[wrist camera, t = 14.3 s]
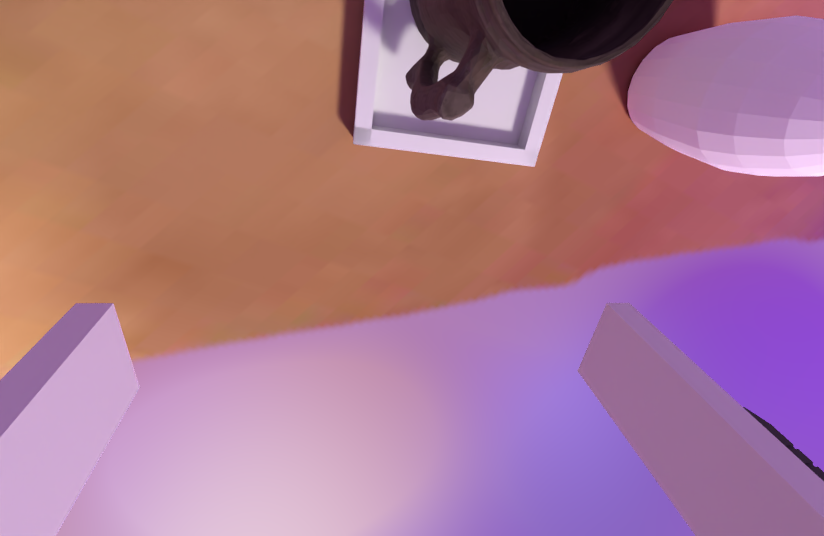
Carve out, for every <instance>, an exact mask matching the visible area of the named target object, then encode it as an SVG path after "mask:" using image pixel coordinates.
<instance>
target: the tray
mask: <svg viewBox="0 0 824 536" xmlns="http://www.w3.org/2000/svg"><path fill="white" fill-rule="evenodd" d="M428 46H429V45H428V43H427V42H426V41H425V40H424V38H423V37H422V35H421V34H420V32H419V31H418V28H417V26H416V23H415V21H414V18H413V16H412V12H411V7H410V1H409V0H364V7H363V19H362V32H361V44H360V57H359V70H358V82H357V95H356V107H355V120H354V133H353V144H358V145H366V146H374V147H382V148H389V149H397V150H405V151H413V152H421V153H429V154H437V155H445V156H453V157H461V158H469V159H477V160H485V161H493V162H501V163H509V164H517V165H525V166H533V167H535V163H536V160H537V157H538V153H539V150H540V147H541V143H542V140H543V137H544V134H545V130H546V127H547V124H548V120H549V117H550V114H551V111H552V107H553V104H554V101H555V97H556V94H557V91H558V87H559V84H560V81H561V78H562V74H563V73H542V72H536V71H532V70H529V69H527V68H524V67H521V66H518V67H515V68H513V69H510V70H500V69H493V70H492V71H491V72H490V74H489V75H488V76H487V78H486V79H485V80H484V81H483V83H482V84H481V85H480V87H479V88H478V90H477V91H476V93H475V95H474V105H473V107H472V108H471V109H470V110H469V111H468V112H466V113H465V114H464V115H463V116H461V117H458V118H456V119H454V120H452V121H451V120H444V119H442V118H437V119H434V120H425V121H424V120H421V119H419V118H417V117H416V116H415V115H414V114H413V113H412V110H411V105H410V97H411V92H412V90H411V89H410V88H409V86H408V85H407V82H406V78H405V76H406V74H407V72H408V71H409V70H410V69H411V68H412V66H413V65H414V64H415V63H416V62H417V61H418V60H419V59H420V58H421V57H422V56H424V55H425V53H426V51H427V49H428ZM458 65H459V63H457V62H453V61H451V60H447V61H445V62H444V63H443V64H442V65H441V66H440V69H439V73H438V81H439V80H441V79H442V78H444V77H445V76H447V75H449V74H450V73H452V72H453V71H455V70H456V68H457V66H458Z"/></svg>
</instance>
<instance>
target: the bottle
mask: <svg viewBox="0 0 824 536" xmlns="http://www.w3.org/2000/svg"><path fill="white" fill-rule="evenodd" d="M627 107H628V111H629V115H630V118H631V120H632V121H633V123H634V124H635V125H636V127H637V128H638V129H640V130H641V131H643V132H645V133H646V134H648V135H650V136H651V137H653V138H655V139H656V140H658V141H659V142H661V143H663V144H664V145H666V146H668V147H670V148H672V149H674V150H676V151H678V152H680V153H683V154H685V155H688V156H690V157H692V158H695V159H697V160H700V161H702V162H705V163H707V164H709V165H712V166H714V167H717V168H719V169H722V170H725V171H731V172H738V173H745V174H752V175H759V176H823V175H824V19H819V18H811V17H803V16H789V17H780V18H771V19H762V20H754V21H745V22H736V23H728V24H724V25H720V26H716V27H712V28H708V29H704V30H699V31H695V32H691V33H687V34H683V35H679V36H676V37H672V38H669V39H667V40H666V41H664V42H662V43H661V44H659V45H658V46H656V47H655V48H654V49H653V50H652V51H651V52H650V53H649V54H648V55H647V56H646V57H645V58H644V59H643V60H642V62H641V63H640V65H639V67H638V68H637V70H636V72H635V73H634V75H633V77H632V80H631V83H630V87H629V90H628V102H627Z"/></svg>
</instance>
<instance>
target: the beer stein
mask: <svg viewBox="0 0 824 536" xmlns="http://www.w3.org/2000/svg"><path fill="white" fill-rule="evenodd" d="M409 1H410V7H411V12H412V16H413V18H414V21H415V23H416V26H417V28H418V31H419V32H420V34H421V35H422V37H423V38H424V40H425V41H426V42H427V43H428V45H429V46H428V49H427V51H426V53H425V55H424V56H422V57H421V58H420V59H419V60H418V61H417V62H416V63H415V64H414V65H413V66H412V68H411V69H410V70H409V71H408V72H407V74H406V76H405V78H406V82H407V85H408V86H409V88H410V89H411V90H412V92H411V97H410V105H411V110H412V113H413V114H414V115H415V116H416V117H417V118H419V119H421V120H424V121H425V120H434V119H437V118H442V119H444V120H451V121H452V120H454V119H456V118H458V117H461V116H463V115H464V114H465V113H466V112H468V111H469V110H470V109H471V108H472V107H473V105H474V95H475V93H476V91H477V90H478V88H479V87H480V85H481V84H482V83H483V81H484V80H485V79H486V78H487V76H488V75H489V74H490V72H491V71H492V70H493V69H500V70H510V69H513V68H515V67H518V66H521V67H524V68H527V69H529V70H532V71H536V72H542V73H572V72H575V71H579V70H582V69H586V68H589V67H592V66H597V65H601V64H603V63H605V62H607V61H609V60H611V59H613V58H615V57H617V56H619V55H620V54H622V53H624V52H625V51H627V50H628V49H630V48H631V47H633V46H634V45H636V44H637V43H638V42H639V41H640V40H641V39H642V38H643V37H644V36H645V35H646V34H647V33H648V32H649V31H650V30H651V29H652V28H653V27H654V26H655V25H656V24H657V23H658V22H659V21H660V19H661V18H662V16H663V15H664V13H665V12H666V10H667V9H668V7H669V6H670V4H671V3H672V1H673V0H409ZM447 60H451V61H453V62H457V63H459V65H458V66H457V68H456V70H455V71H453V72H452V73H450V74H449V75H447V76H445V77H444V78H442V79H441V80H439V81H438V73H439V69H440V66H441V65H442V64H443V63H444V62H445V61H447Z"/></svg>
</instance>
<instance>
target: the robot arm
mask: <svg viewBox="0 0 824 536" xmlns="http://www.w3.org/2000/svg"><path fill="white" fill-rule="evenodd" d="M578 372H579V373H580V375H581V376H582V377H583V379H584V380H585V382H586V383H587V385H588V386H589V387H590V389H591V390H592V391H593V393H594V394H595V396H596V397H597V398H598V400H599V401H600V403H601V404H602V405H603V407H604V408H605V409H606V411H607V413H608V414H609V415H610V417H611V418H612V419H613V421H614V422H615V424H616V425H617V426H618V428H619V429H620V431H621V432H622V433H623V435H624V436H625V438H626V439H627V440H628V442H629V443H630V445H631V446H632V447H633V449H634V450H635V452H636V453H637V454H638V456H639V457H640V459H641V460H642V461H643V463H644V464H645V466H646V467H647V468H648V470H649V471H650V473H651V474H652V475H653V477H654V478H655V479H656V481H657V482H658V484H659V485H660V487H661V488H662V489H663V491H664V492H665V494H666V495H667V496H668V498H669V499H670V500H671V502H672V503H673V505H674V506H675V507H676V509H677V510H678V512H679V513H680V515H681V516H682V517H683V519H684V520H685V521H686V523H687V524H688V526H689V527H690V528H691V530H692V531H693V533H694V534H695V535H696V536H824V472H823V471H822V470H821V469H820V468H819V467H814V466H813V462H812V461H811V460H810V459H809V458H807V457H806V456H805V455H804V454H803V453H802V452H801V451H800V450H799V449H794V447H793V444H792V443H791V442H790V441H789V440H787V439H786V438H785V437H784V436H783V435H782V434H781V433H780V432H778V431H777V430H776V429H775V428H774V427H773V426H772V425H771V424H769V423H768V422H766V421H765V420H763V419H762V418H760V417H759V416H757V415H755V414H754V413H752V412H751V411H749V410H748V409H746V408H745V407H742V406H741V405H740V404H739V403H738V402H737V401H735V400H734V399H733V398H732V397H731V396H730V395H729V394H728V393H727V392H726V391H725V390H723V389H722V388H721V387H720V386H719V385H718V384H717V383H716V382H715V381H714V380H713V379H711V378H710V377H709V376H708V375H707V374H706V373H705V372H704V371H703V370H702V369H701V368H699V367H698V366H697V365H696V364H695V363H694V362H693V361H692V360H691V359H690V358H689V357H687V356H686V355H685V354H684V353H683V352H682V351H681V350H680V349H679V348H678V347H677V346H675V345H674V344H673V343H672V342H671V341H670V340H669V339H668V338H667V337H666V336H664V335H663V334H662V333H661V332H660V331H659V330H658V329H657V328H656V327H655V326H654V325H652V324H651V323H650V322H649V321H648V320H647V319H646V318H645V317H644V316H643V315H642V314H640V313H639V312H638V311H637V310H636V309H635V308H634V307H633V306H632V305H631V304H630V303H607V304H606V306H605V309H604V311H603V314H602V316H601V318H600V320H599V323H598V325H597V327H596V330H595V332H594V334H593V337H592V339H591V341H590V344H589V346H588V348H587V350H586V353H585V355H584V357H583V360H582V362H581V364H580V367H579V369H578ZM139 388H140V386H139V383H138V380H137V377H136V374H135V370H134V367H133V364H132V361H131V358H130V355H129V351H128V348H127V345H126V342H125V339H124V336H123V332H122V329H121V326H120V323H119V320H118V317H117V314H116V310H115V307H114V304H113V303H76V304H75V305H74V306H73V307H72V308H71V309H70V310H69V311H68V312H67V313H66V314H65V315H64V316H63V317H62V318H61V319H60V320H59V321H58V322H57V323H56V324H55V325H54V326H53V327H52V328H51V329H50V330H49V331H48V332H47V333H46V334H45V335H44V336H43V337H42V339H41V340H40V341H39V342H38V343H37V344H36V345H35V346H34V347H33V348H32V349H31V350H30V351H29V352H28V353H27V354H26V355H25V356H24V357H23V358H22V359H21V360H20V361H19V362H18V363H17V364H16V365H15V366H14V367H13V368H12V369H11V370H10V371H9V372H8V373H7V374H6V375H5V376H4V377H3V378H2V379H1V380H0V536H56V535H57V533H58V531H59V530H60V527H61V526H62V524H63V522H64V521H65V519H66V517H67V515H68V514H69V512H70V510H71V508H72V507H73V505H74V503H75V501H76V499H77V498H78V496H79V494H80V492H81V491H82V489H83V487H84V485H85V483H86V482H87V480H88V478H89V476H90V475H91V473H92V471H93V469H94V468H95V466H96V464H97V462H98V461H99V459H100V457H101V455H102V453H103V452H104V450H105V448H106V446H107V445H108V443H109V441H110V439H111V438H112V436H113V434H114V432H115V431H116V429H117V427H118V425H119V423H120V421H121V420H122V418H123V416H124V415H125V413H126V411H127V409H128V407H129V406H130V404H131V402H132V400H133V399H134V397H135V395H136V393H137V392H138V390H139Z"/></svg>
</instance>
